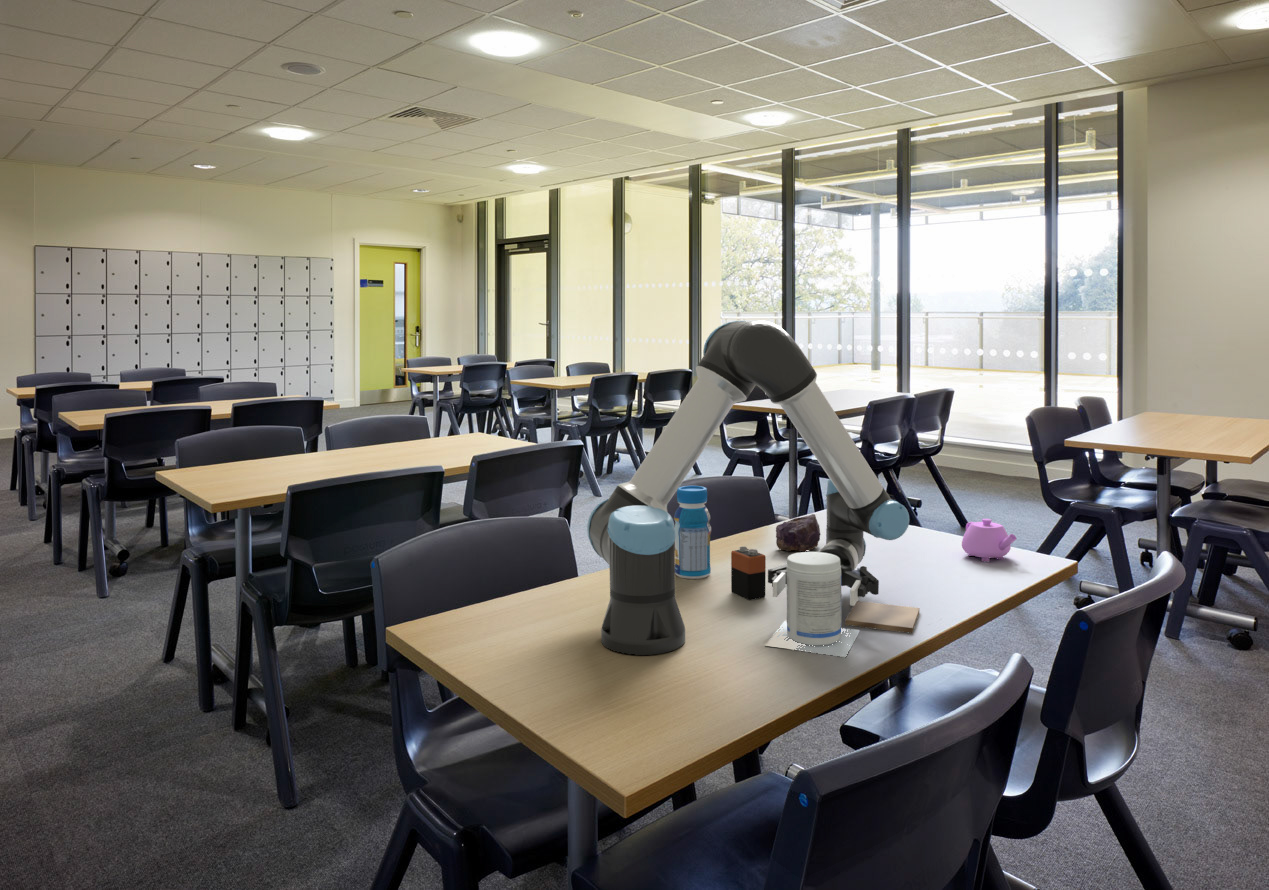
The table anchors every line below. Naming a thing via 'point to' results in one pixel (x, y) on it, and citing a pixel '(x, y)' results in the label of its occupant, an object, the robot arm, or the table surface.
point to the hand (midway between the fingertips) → (812, 593)
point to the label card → (834, 649)
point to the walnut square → (883, 616)
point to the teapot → (986, 540)
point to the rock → (798, 534)
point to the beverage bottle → (692, 533)
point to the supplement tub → (814, 598)
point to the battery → (748, 573)
